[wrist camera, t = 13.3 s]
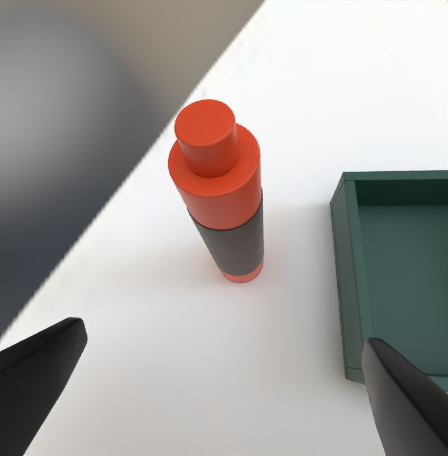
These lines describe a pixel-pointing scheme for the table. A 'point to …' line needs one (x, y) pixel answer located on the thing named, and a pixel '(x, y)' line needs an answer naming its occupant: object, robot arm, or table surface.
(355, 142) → the table surface
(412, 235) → the crayon tray
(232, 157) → the crayon
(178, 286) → the table surface
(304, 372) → the table surface
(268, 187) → the table surface
